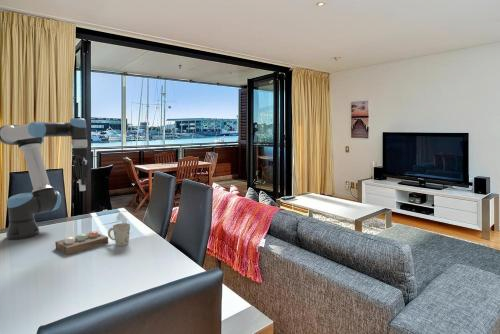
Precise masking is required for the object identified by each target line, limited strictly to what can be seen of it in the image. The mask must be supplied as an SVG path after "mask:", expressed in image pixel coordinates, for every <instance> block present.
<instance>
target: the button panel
mask: <svg viewBox="0 0 500 334" xmlns="http://www.w3.org/2000/svg"><path fill="white" fill-rule="evenodd" d="M86 234H87V240H84V241H80V242H79V241H77V235H76V236H74V237H75V243H72V244H69V245H66V244H65V238H64V239H60V240H56V241H55V249H57V250H58V251H59V252H62V253H64V254H66V255H68V256H70V255H72V254H75V253H80V252H82V251H86V250H89V249H90V250H91V249H93V248H97V247H100V246H103V245H107V244H109V236H108V235H104V234H102V233H99V232H98V236H99V237H95V238H89V232H88V233H86Z"/></svg>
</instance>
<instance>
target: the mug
mask: <svg viewBox="0 0 500 334" xmlns="http://www.w3.org/2000/svg"><path fill="white" fill-rule="evenodd" d="M130 230H131V224H130V223H128V222H125V223H124V222H121V223H120V222H119V223H116V224H114V225H112V227H110V228H109V229H108V231H107V237H108V239H111V240H112V241H115V245H116V247H124V246H127V245H128V244H129V242H130V241H129V239H130ZM111 232H113V236H114V237H112V236H111Z"/></svg>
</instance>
